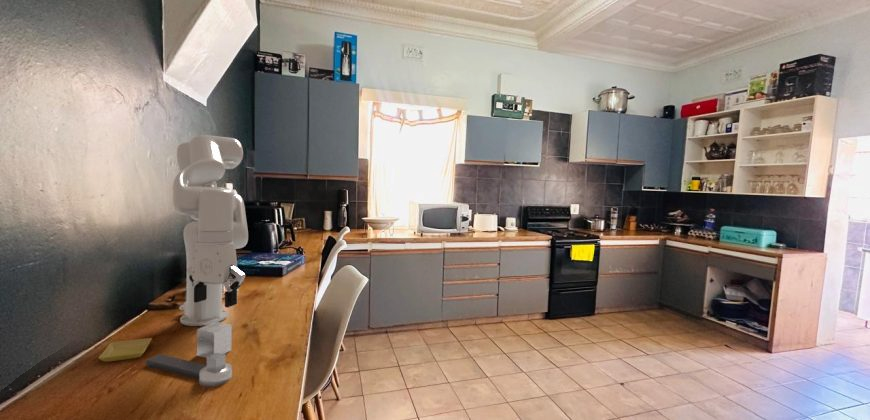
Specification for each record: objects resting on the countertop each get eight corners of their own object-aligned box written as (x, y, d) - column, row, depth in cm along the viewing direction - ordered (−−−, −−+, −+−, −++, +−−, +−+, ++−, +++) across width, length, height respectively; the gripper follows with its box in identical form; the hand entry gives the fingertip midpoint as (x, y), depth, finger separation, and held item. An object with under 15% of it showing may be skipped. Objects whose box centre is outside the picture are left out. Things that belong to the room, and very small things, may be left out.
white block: (196, 355, 91) (197, 329, 91) (214, 346, 96) (215, 321, 96) (213, 359, 90) (214, 332, 89) (231, 350, 95) (231, 324, 94)
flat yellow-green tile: (143, 360, 88) (143, 352, 88) (97, 366, 85) (97, 357, 84) (152, 345, 96) (152, 337, 96) (111, 350, 92) (110, 342, 92)
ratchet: (139, 369, 84) (138, 347, 83) (166, 357, 90) (166, 336, 89) (215, 389, 78) (215, 365, 78) (238, 374, 84) (238, 352, 84)
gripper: (175, 236, 89) (175, 303, 90) (231, 241, 85) (231, 312, 86) (202, 233, 96) (201, 295, 97) (255, 238, 92) (254, 303, 93)
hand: (215, 303), depth 92 cm, fingers open, 9 cm apart
